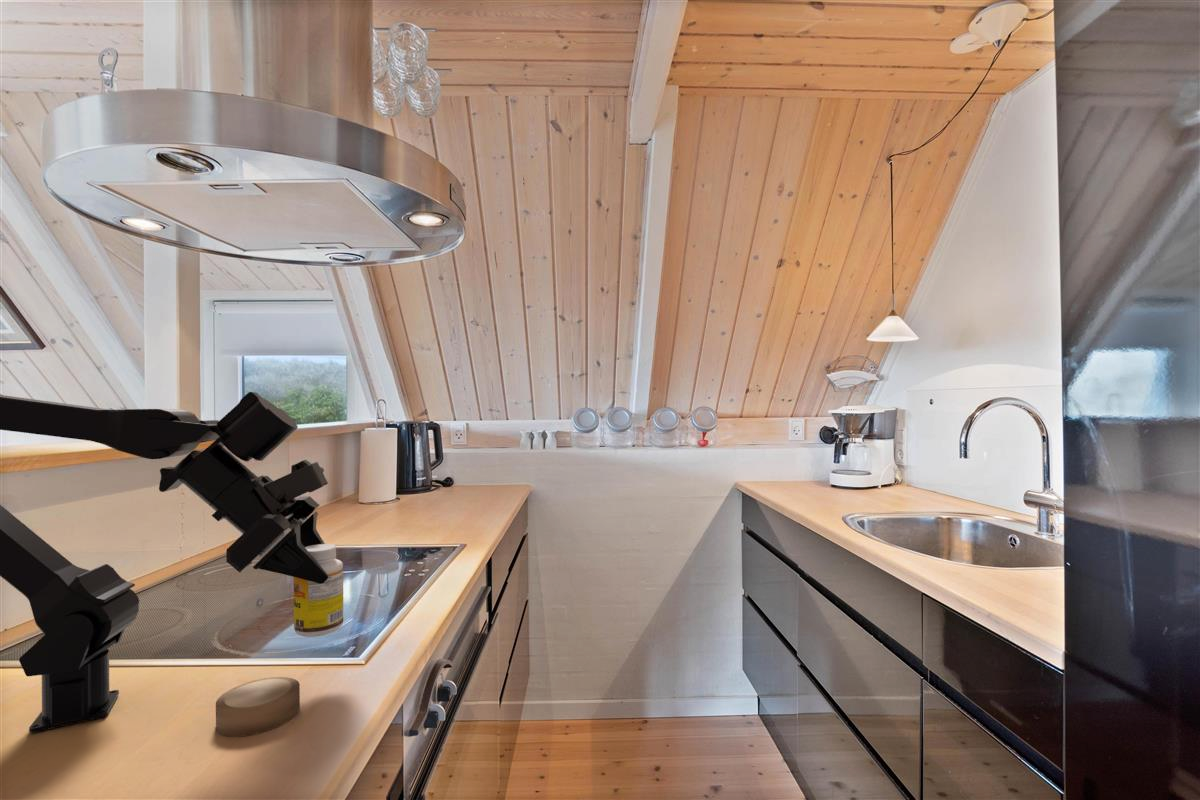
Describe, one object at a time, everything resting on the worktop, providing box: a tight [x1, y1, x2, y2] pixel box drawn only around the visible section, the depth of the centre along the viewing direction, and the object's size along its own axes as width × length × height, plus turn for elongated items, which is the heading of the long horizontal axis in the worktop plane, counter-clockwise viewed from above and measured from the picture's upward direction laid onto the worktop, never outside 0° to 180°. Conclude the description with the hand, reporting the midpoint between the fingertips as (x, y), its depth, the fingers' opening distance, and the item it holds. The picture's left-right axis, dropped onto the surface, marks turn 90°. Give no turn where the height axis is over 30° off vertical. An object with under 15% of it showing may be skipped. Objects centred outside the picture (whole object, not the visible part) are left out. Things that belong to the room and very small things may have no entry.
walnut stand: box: [215, 676, 301, 737], centre depth 65 cm, size 8×8×3 cm
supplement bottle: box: [293, 543, 344, 638], centre depth 73 cm, size 6×6×10 cm
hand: (330, 574), depth 73 cm, fingers closed on supplement bottle, 5 cm apart
